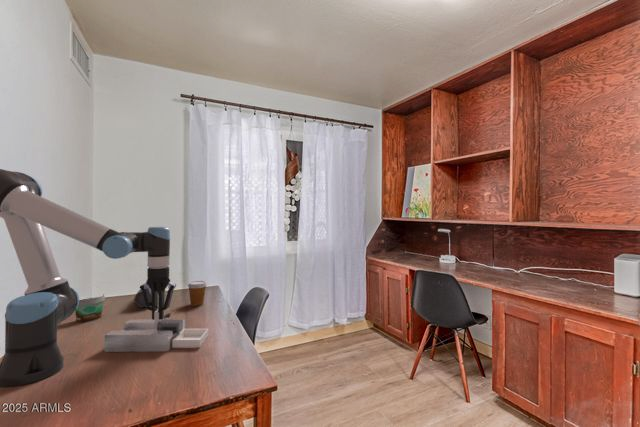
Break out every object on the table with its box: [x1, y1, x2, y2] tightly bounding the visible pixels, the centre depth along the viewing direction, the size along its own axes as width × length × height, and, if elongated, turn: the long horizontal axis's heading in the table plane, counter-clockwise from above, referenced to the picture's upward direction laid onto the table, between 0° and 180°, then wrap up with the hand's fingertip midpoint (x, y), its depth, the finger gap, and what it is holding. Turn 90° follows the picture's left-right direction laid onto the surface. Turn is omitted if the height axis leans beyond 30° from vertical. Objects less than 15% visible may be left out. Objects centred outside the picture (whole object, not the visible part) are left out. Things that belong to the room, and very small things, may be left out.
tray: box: [171, 328, 210, 349], centre depth 119 cm, size 11×10×3 cm
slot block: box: [104, 318, 186, 353], centre depth 117 cm, size 16×22×6 cm
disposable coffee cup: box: [187, 280, 208, 307], centre depth 166 cm, size 10×10×12 cm
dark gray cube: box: [157, 320, 171, 331], centre depth 118 cm, size 4×4×4 cm
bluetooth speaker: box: [134, 287, 152, 308], centre depth 167 cm, size 23×9×10 cm, turn 17°
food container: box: [74, 294, 106, 323], centre depth 140 cm, size 12×6×10 cm, turn 143°
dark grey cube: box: [168, 320, 183, 334], centre depth 118 cm, size 4×4×4 cm
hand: (157, 327), depth 118 cm, fingers closed
